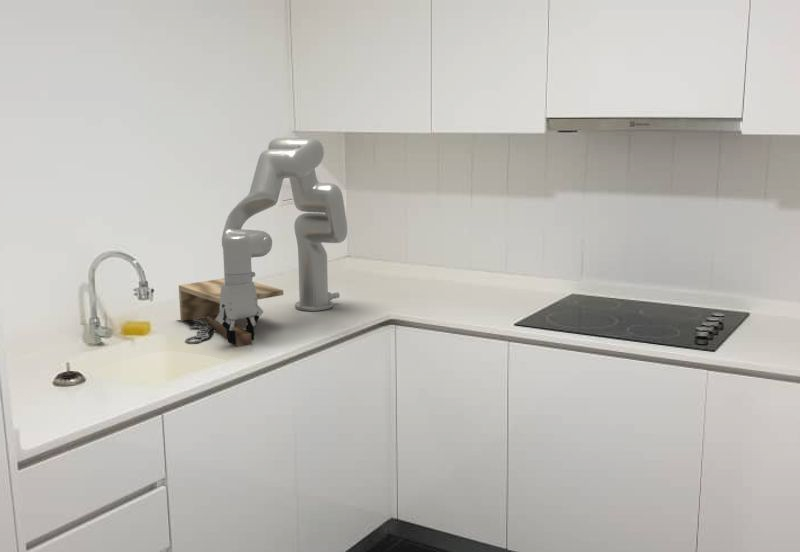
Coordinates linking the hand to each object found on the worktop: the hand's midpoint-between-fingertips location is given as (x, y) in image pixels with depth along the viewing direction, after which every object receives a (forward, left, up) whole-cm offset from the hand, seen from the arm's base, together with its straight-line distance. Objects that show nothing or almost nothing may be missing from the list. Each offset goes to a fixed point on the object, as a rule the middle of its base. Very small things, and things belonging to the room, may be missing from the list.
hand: (240, 340), depth 234 cm
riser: (-9, -21, -1) cm, 23 cm away
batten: (-4, -10, +1) cm, 11 cm away
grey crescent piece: (+3, -21, -2) cm, 21 cm away
